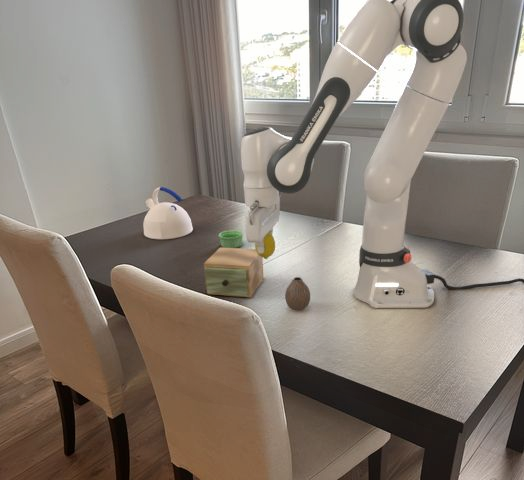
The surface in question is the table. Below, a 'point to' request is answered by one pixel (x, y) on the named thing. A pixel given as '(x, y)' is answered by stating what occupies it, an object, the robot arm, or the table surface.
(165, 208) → the kettle
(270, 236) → the lemon
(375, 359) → the table surface
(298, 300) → the vase
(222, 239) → the ramekin
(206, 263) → the cabinet
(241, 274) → the drawer
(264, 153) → the robot arm
